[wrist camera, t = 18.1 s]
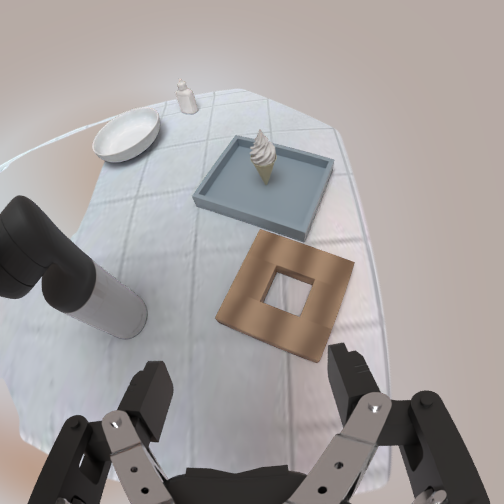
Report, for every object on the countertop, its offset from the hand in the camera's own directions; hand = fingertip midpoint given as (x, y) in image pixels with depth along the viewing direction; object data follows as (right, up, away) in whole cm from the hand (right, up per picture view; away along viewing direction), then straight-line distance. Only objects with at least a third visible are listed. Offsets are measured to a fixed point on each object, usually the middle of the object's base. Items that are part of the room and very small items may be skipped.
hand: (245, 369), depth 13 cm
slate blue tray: (+3, +20, +48) cm, 52 cm away
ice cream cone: (+3, +20, +47) cm, 51 cm away
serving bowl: (-34, +36, +61) cm, 79 cm away
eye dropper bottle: (-19, +48, +65) cm, 83 cm away
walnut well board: (+6, -2, +36) cm, 37 cm away
